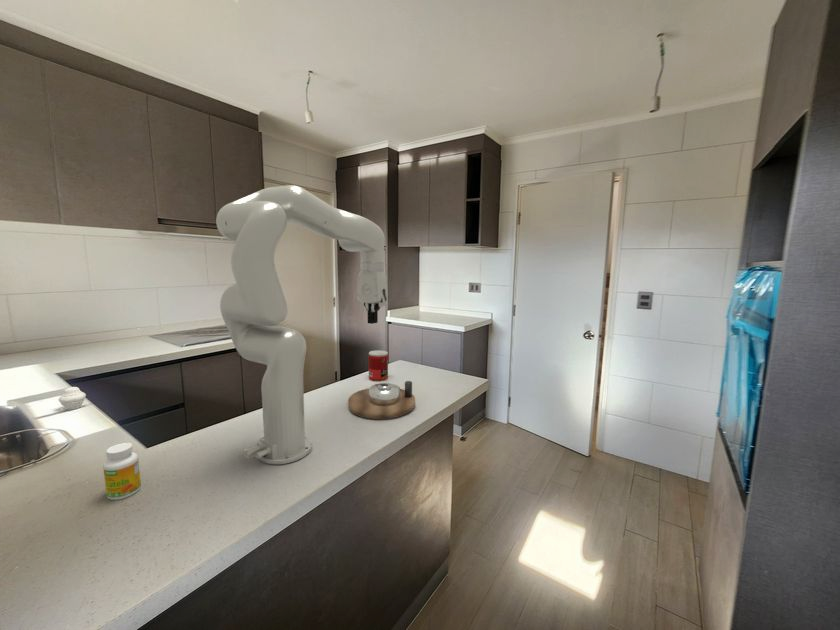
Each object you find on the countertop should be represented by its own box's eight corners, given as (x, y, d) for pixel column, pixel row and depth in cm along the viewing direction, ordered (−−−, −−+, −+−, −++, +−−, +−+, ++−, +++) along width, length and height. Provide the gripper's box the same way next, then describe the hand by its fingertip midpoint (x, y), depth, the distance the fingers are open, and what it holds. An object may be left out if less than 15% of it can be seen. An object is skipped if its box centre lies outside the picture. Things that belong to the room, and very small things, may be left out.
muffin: (80, 410, 110) (77, 389, 109) (55, 413, 108) (52, 391, 107) (91, 403, 116) (88, 382, 115) (67, 405, 114) (64, 384, 112)
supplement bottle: (102, 503, 68) (96, 457, 67) (113, 487, 73) (107, 443, 72) (136, 496, 70) (131, 451, 69) (144, 481, 75) (140, 438, 74)
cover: (371, 407, 110) (371, 391, 109) (367, 395, 119) (367, 381, 118) (402, 404, 112) (403, 389, 112) (396, 393, 122) (396, 379, 121)
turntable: (350, 421, 104) (350, 399, 103) (346, 394, 125) (346, 376, 124) (422, 414, 109) (422, 393, 108) (406, 390, 130) (407, 372, 129)
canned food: (384, 382, 140) (384, 355, 139) (365, 380, 142) (365, 354, 140) (390, 376, 148) (390, 350, 146) (372, 374, 149) (372, 349, 148)
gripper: (348, 267, 117) (348, 322, 120) (381, 268, 108) (381, 327, 111) (364, 267, 123) (364, 319, 126) (397, 268, 114) (396, 324, 117)
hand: (372, 322), depth 118 cm, fingers closed
